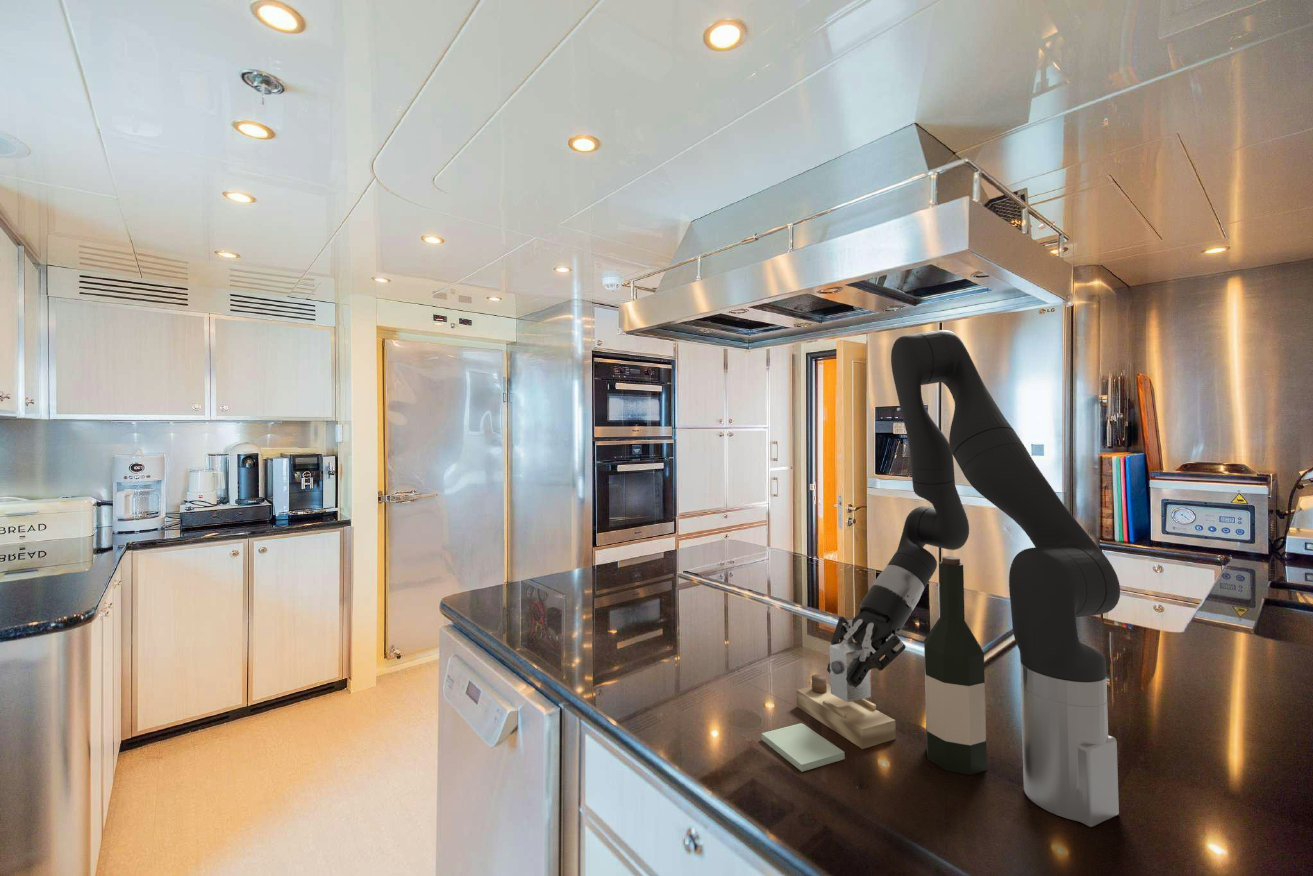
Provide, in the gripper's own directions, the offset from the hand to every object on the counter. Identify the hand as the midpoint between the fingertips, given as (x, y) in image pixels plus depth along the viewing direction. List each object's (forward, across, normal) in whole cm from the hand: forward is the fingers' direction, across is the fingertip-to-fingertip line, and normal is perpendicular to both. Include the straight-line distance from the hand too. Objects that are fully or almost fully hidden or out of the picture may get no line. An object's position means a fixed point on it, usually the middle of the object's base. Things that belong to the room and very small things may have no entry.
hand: (841, 678), depth 93 cm
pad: (+13, +2, -1) cm, 13 cm away
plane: (+5, -2, +7) cm, 9 cm away
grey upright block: (+1, 0, +4) cm, 4 cm away
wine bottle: (0, +14, +12) cm, 19 cm away
